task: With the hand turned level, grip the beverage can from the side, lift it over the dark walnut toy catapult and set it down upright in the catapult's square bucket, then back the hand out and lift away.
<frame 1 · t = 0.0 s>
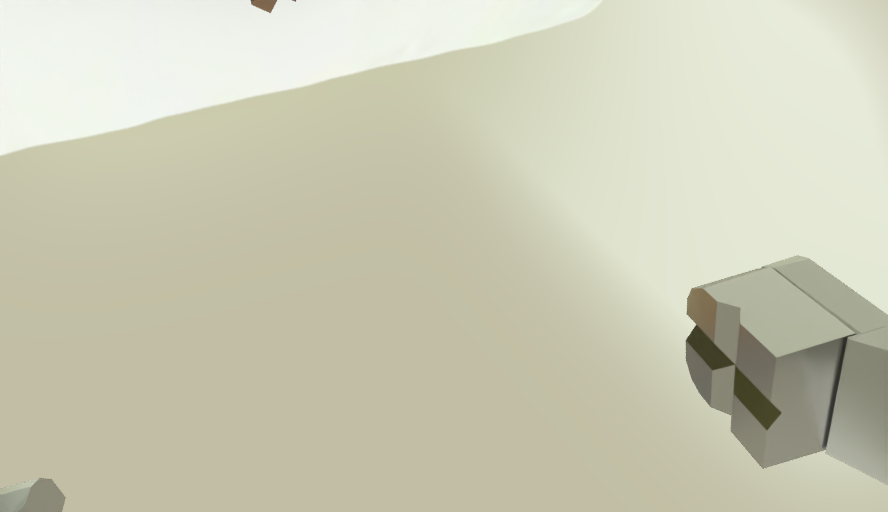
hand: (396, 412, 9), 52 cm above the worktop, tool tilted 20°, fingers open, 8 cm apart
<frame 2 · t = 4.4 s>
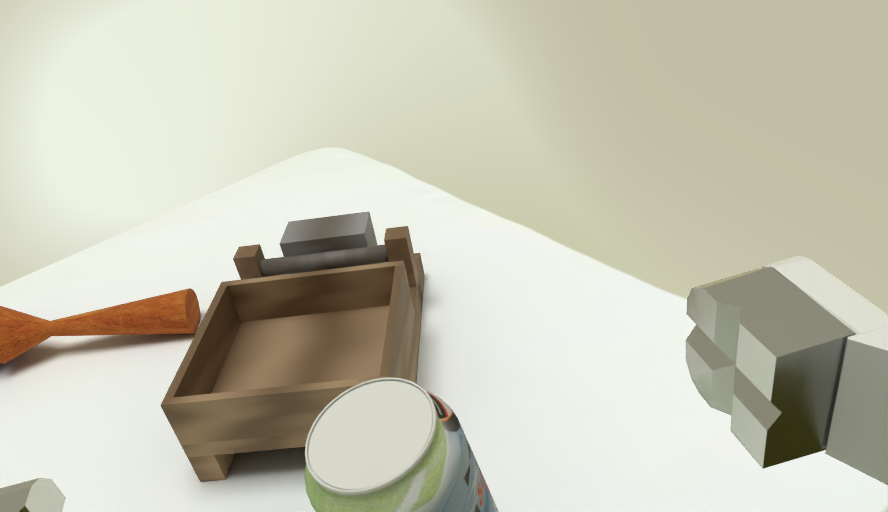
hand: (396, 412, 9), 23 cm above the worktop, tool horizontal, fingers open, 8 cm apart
catapult: (329, 362, 46), on the worktop
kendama: (70, 355, 52), on the worktop
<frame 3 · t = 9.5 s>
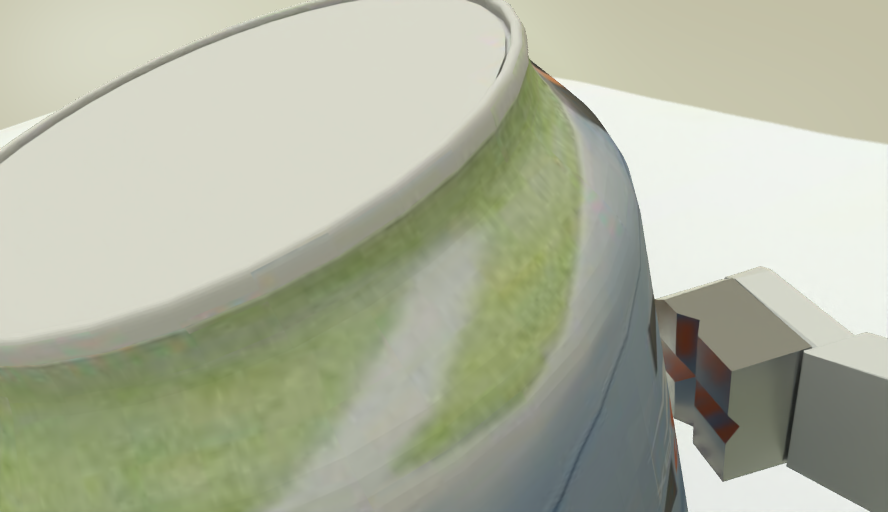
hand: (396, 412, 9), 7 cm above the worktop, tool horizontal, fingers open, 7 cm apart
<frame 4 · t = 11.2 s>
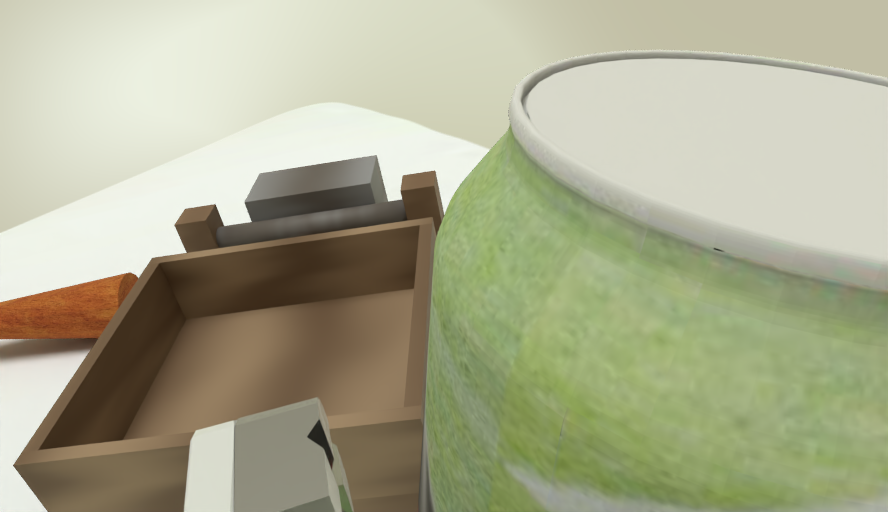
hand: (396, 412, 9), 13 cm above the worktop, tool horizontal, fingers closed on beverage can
catapult: (320, 378, 30), on the worktop
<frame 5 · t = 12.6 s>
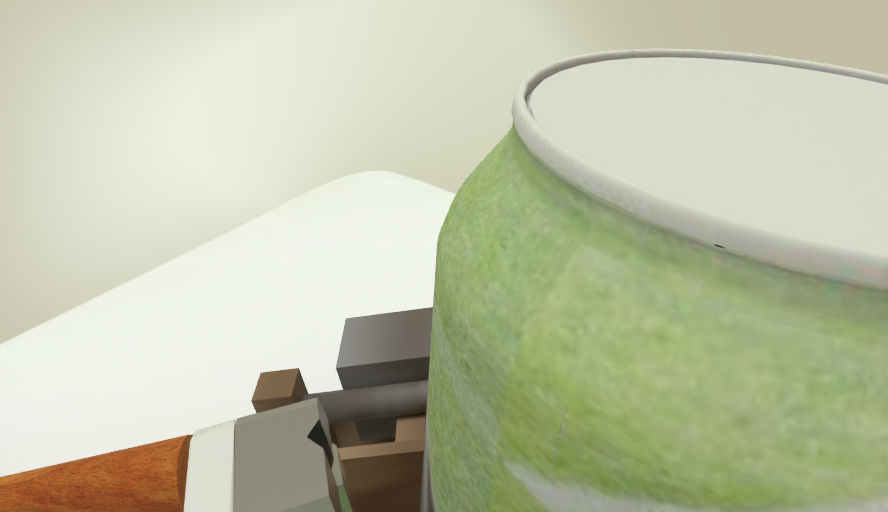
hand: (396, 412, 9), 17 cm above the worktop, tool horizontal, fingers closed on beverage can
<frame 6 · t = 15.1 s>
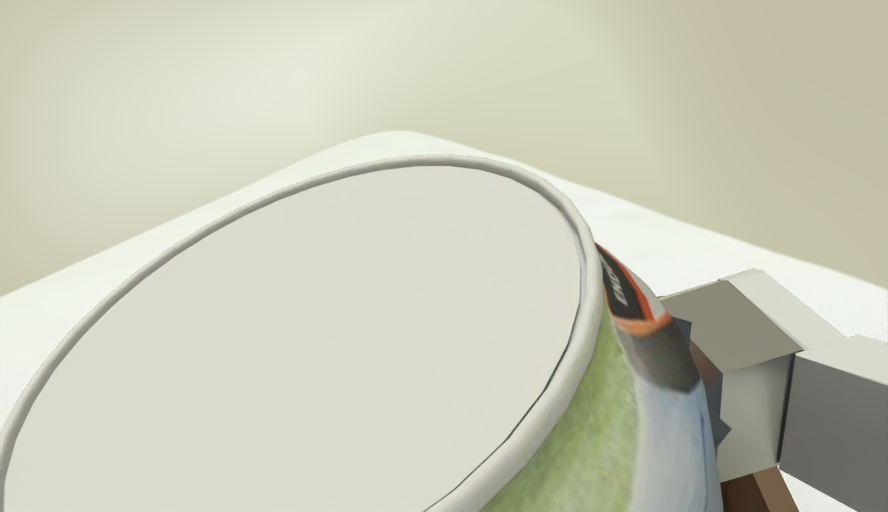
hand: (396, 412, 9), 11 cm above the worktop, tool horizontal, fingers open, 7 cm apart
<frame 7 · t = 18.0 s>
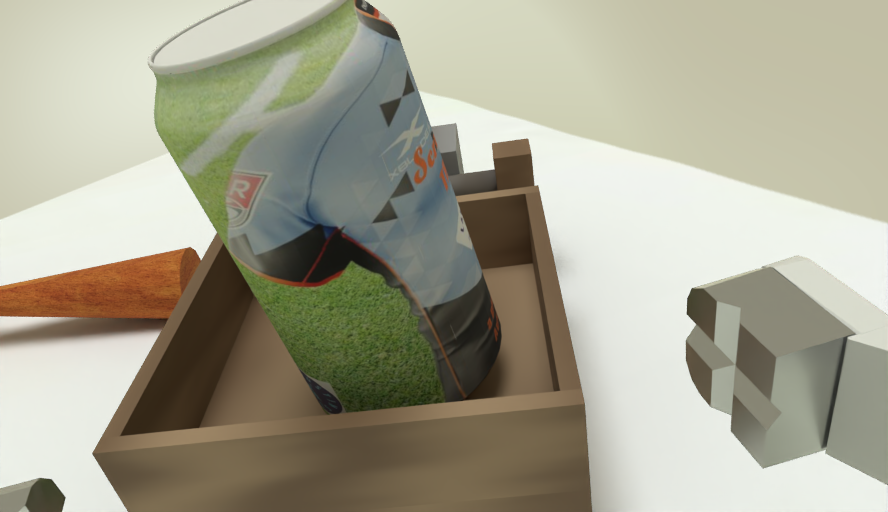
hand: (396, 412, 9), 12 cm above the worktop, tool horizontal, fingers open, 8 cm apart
beverage can: (392, 390, 22), point 3 cm above the worktop, touching catapult
catapult: (402, 364, 27), on the worktop
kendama: (5, 346, 34), on the worktop
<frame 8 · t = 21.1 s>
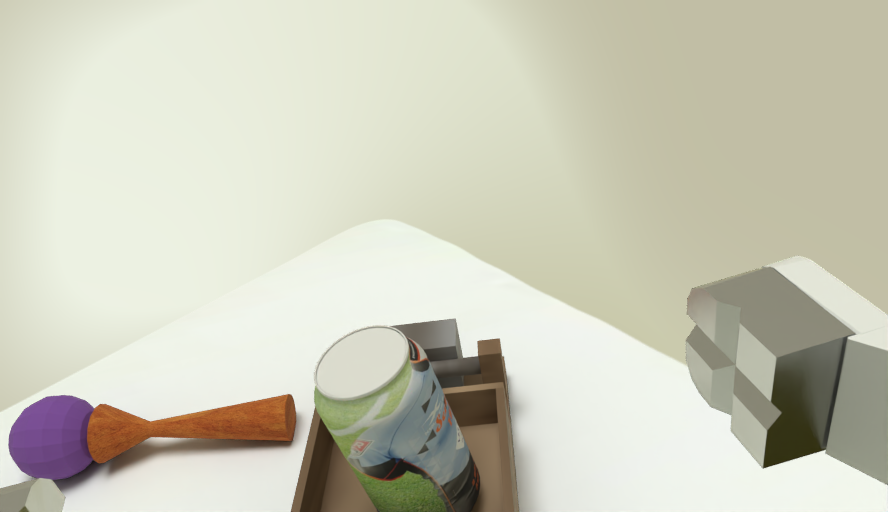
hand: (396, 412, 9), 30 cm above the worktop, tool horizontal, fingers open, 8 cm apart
beverage can: (421, 509, 40), point 3 cm above the worktop, touching catapult
catapult: (423, 480, 46), on the worktop
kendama: (167, 453, 52), on the worktop
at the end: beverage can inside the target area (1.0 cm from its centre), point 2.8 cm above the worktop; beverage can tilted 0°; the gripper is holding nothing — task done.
